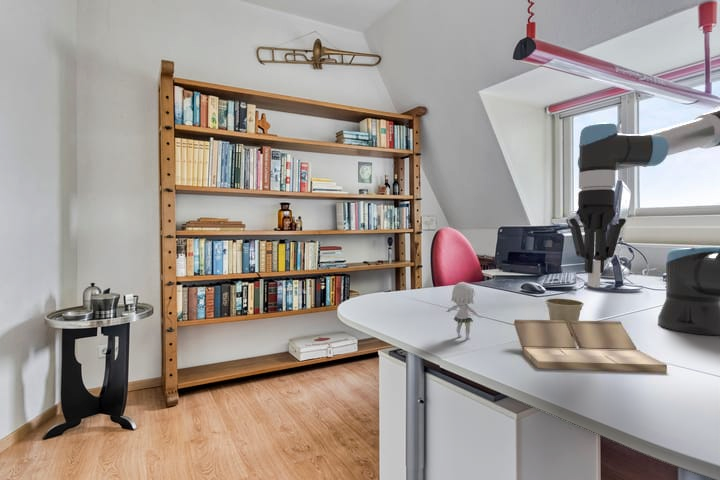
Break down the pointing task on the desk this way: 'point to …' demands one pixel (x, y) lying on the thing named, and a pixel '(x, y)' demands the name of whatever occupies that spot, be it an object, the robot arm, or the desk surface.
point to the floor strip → (593, 359)
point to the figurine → (463, 306)
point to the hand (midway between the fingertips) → (593, 286)
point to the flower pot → (564, 310)
